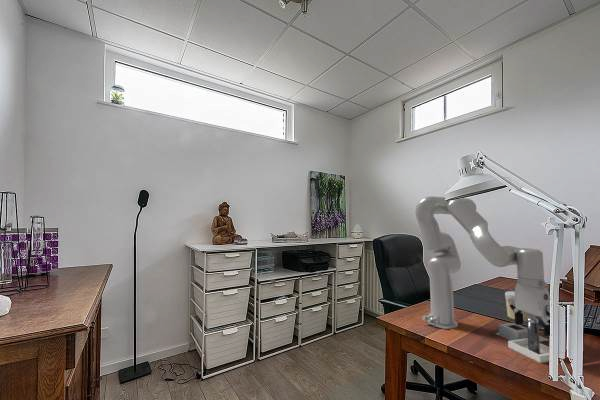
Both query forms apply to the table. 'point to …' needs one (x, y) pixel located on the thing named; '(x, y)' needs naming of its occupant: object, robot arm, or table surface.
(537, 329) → the pin
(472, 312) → the table surface
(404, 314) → the table surface
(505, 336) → the hitch
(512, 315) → the coffee cup
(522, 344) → the tray
